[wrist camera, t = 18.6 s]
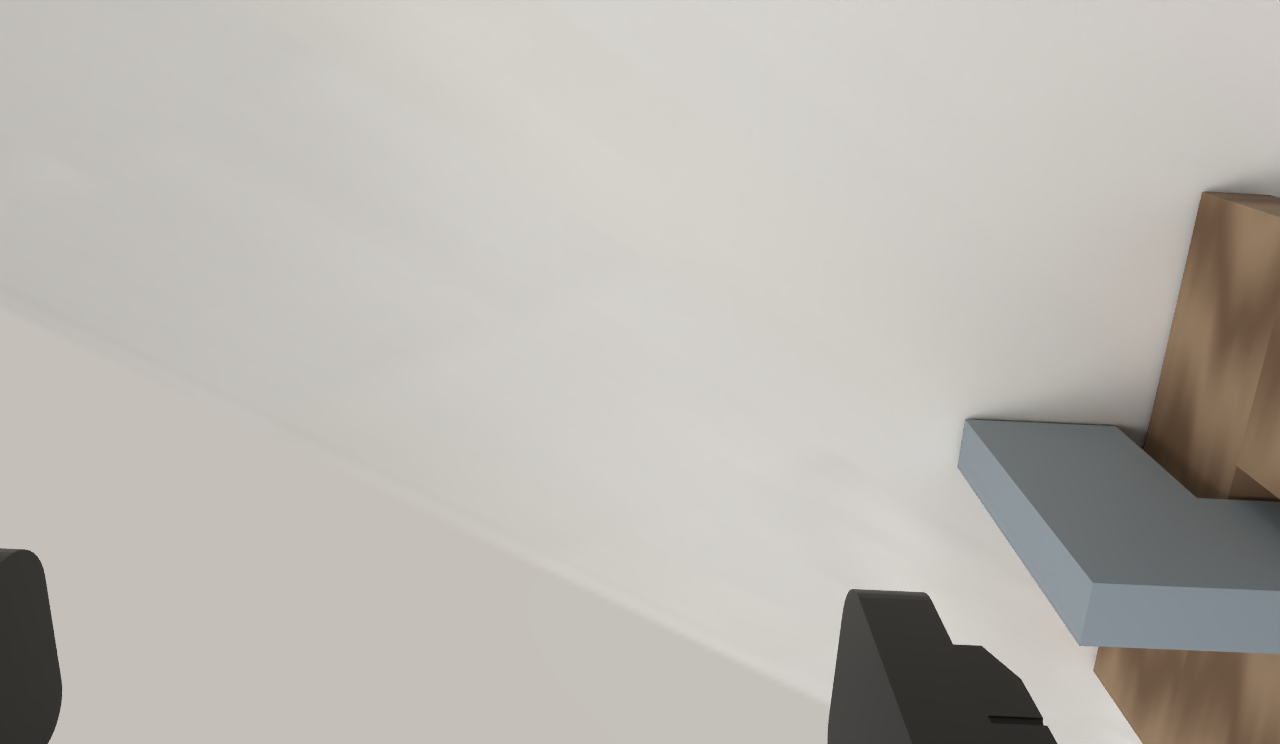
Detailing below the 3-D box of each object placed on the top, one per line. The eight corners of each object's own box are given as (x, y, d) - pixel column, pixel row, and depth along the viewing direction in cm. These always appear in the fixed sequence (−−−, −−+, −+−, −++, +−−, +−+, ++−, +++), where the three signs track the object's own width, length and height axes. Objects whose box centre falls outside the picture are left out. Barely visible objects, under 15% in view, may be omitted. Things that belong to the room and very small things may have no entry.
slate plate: (965, 419, 40) (1093, 582, 29) (1379, 438, 40) (1670, 607, 29) (957, 466, 41) (1079, 645, 29) (1365, 485, 41) (1643, 669, 29)
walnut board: (1202, 191, 37) (1449, 273, 26) (1269, 195, 37) (1545, 277, 26) (1093, 670, 44) (1251, 903, 32) (1150, 673, 44) (1328, 907, 32)
